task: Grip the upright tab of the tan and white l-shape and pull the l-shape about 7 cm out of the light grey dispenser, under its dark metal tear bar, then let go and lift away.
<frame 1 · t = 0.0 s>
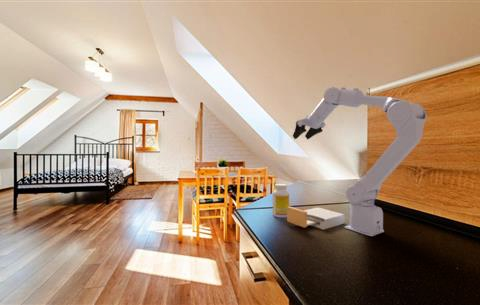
hand: (300, 137, 102), 32 cm above the worktop, tool tilted 50°, fingers open, 7 cm apart
tan and white l-shape: (312, 213, 86), point 4 cm above the worktop, slide at 0.0 cm
dispenser: (320, 221, 88), on the worktop
supplement bottle: (280, 216, 96), on the worktop
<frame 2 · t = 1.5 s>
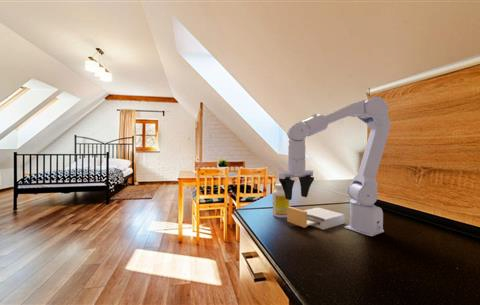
hand: (296, 198, 81), 10 cm above the worktop, tool pointing down, fingers open, 7 cm apart
nothing on the worktop moved.
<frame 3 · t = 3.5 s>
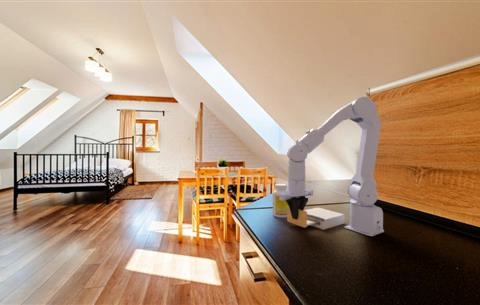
hand: (296, 218, 81), 3 cm above the worktop, tool pointing down, fingers closed on tan and white l-shape
tan and white l-shape: (312, 213, 86), point 4 cm above the worktop, slide at 0.0 cm, touching gripper
everything else where it was.
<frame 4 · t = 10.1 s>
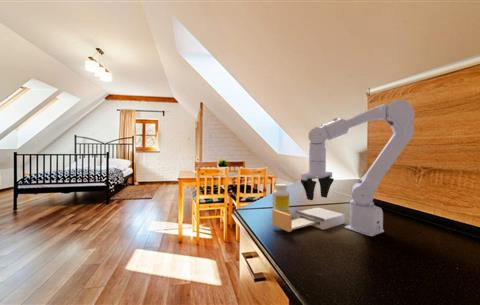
hand: (317, 198, 85), 9 cm above the worktop, tool pointing down, fingers open, 7 cm apart
tan and white l-shape: (298, 216, 82), point 4 cm above the worktop, slide at 7.0 cm
everything else where it was.
at the end: tan and white l-shape slide at 7.0 cm; the gripper is holding nothing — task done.
